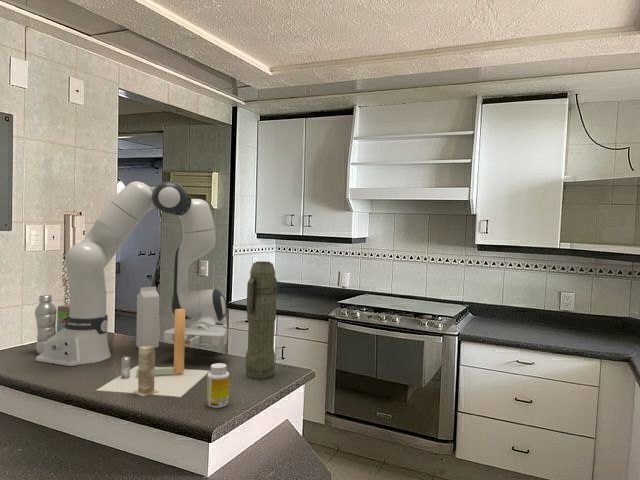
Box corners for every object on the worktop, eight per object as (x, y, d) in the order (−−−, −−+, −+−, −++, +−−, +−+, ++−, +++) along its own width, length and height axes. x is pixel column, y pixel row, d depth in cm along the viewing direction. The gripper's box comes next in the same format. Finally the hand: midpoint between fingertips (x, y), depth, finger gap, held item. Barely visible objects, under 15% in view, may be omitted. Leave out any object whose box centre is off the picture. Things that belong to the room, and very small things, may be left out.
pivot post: (119, 378, 139) (119, 358, 139) (123, 376, 142) (124, 356, 142) (127, 379, 139) (127, 358, 139) (131, 376, 142) (131, 356, 141)
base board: (95, 391, 130) (95, 390, 130) (136, 366, 152) (137, 365, 152) (180, 397, 127) (180, 396, 127) (209, 371, 149) (209, 370, 149)
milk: (158, 347, 176) (160, 287, 175) (142, 349, 172) (143, 288, 171) (151, 343, 180) (153, 285, 179) (135, 346, 176) (137, 286, 175)
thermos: (282, 372, 151) (285, 261, 149) (260, 383, 140) (264, 264, 139) (259, 367, 155) (262, 260, 153) (236, 377, 144) (239, 262, 143)
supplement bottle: (233, 404, 123) (234, 365, 123) (215, 410, 119) (216, 370, 119) (220, 398, 127) (221, 360, 127) (202, 404, 123) (203, 365, 123)
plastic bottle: (62, 352, 165) (60, 294, 165) (43, 357, 159) (41, 296, 159) (50, 351, 168) (49, 294, 168) (31, 355, 162) (29, 296, 162)
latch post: (142, 398, 126) (143, 350, 125) (132, 393, 129) (133, 347, 129) (159, 393, 130) (160, 347, 129) (149, 388, 133) (150, 343, 132)
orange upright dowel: (136, 376, 140) (137, 311, 139) (136, 373, 143) (137, 309, 142) (184, 373, 144) (185, 310, 144) (183, 370, 147) (185, 308, 146)
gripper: (173, 321, 164) (155, 330, 150) (231, 325, 161) (218, 334, 147) (173, 339, 164) (154, 350, 150) (231, 343, 161) (217, 354, 148)
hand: (186, 342), depth 149 cm, fingers closed
